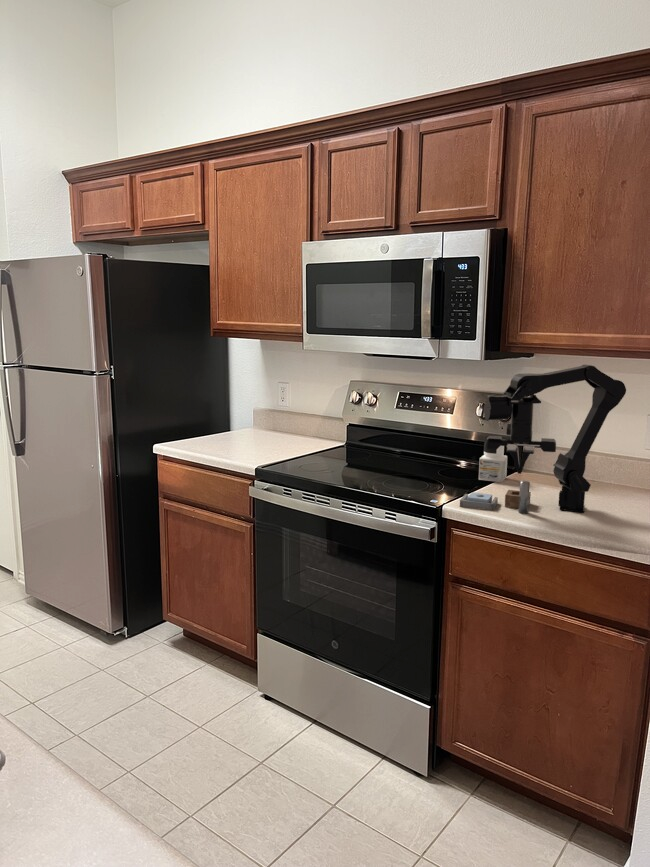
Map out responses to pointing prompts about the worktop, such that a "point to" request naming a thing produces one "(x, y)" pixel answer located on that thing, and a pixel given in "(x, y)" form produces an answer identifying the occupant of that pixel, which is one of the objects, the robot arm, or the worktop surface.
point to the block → (480, 497)
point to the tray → (478, 503)
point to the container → (493, 465)
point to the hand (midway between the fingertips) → (519, 473)
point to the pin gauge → (524, 497)
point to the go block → (513, 498)
